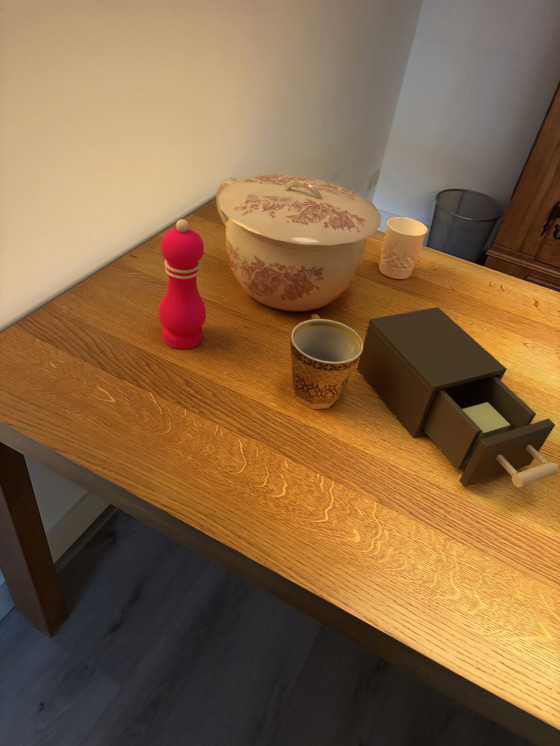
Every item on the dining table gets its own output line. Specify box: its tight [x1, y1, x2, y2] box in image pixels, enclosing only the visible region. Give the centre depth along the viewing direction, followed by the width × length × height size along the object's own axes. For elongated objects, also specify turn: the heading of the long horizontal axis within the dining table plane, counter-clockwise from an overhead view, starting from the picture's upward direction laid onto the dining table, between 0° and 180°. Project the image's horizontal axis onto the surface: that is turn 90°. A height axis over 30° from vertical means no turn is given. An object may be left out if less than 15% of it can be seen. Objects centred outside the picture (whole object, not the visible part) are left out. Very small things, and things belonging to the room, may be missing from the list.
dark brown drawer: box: [422, 376, 559, 488], centre depth 72 cm, size 19×11×8 cm, turn 25°
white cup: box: [378, 216, 428, 280], centre depth 109 cm, size 8×8×10 cm
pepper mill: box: [158, 218, 207, 350], centre depth 80 cm, size 7×7×20 cm
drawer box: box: [356, 306, 508, 439], centre depth 80 cm, size 16×13×10 cm
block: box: [462, 402, 510, 455], centre depth 72 cm, size 4×4×4 cm
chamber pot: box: [215, 172, 382, 312], centre depth 95 cm, size 28×28×21 cm
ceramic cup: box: [289, 313, 364, 410], centre depth 78 cm, size 13×10×10 cm
